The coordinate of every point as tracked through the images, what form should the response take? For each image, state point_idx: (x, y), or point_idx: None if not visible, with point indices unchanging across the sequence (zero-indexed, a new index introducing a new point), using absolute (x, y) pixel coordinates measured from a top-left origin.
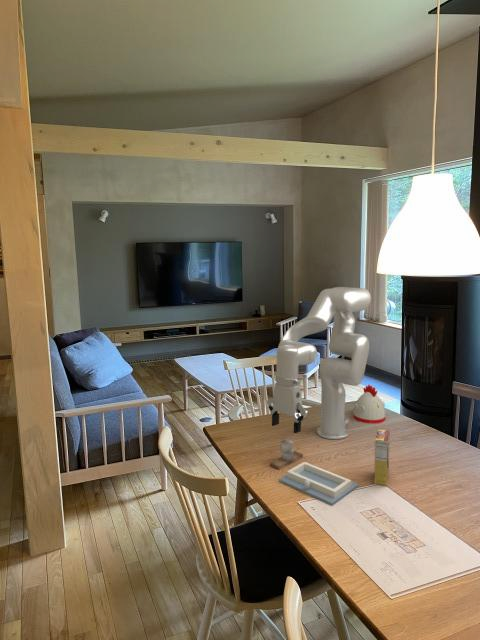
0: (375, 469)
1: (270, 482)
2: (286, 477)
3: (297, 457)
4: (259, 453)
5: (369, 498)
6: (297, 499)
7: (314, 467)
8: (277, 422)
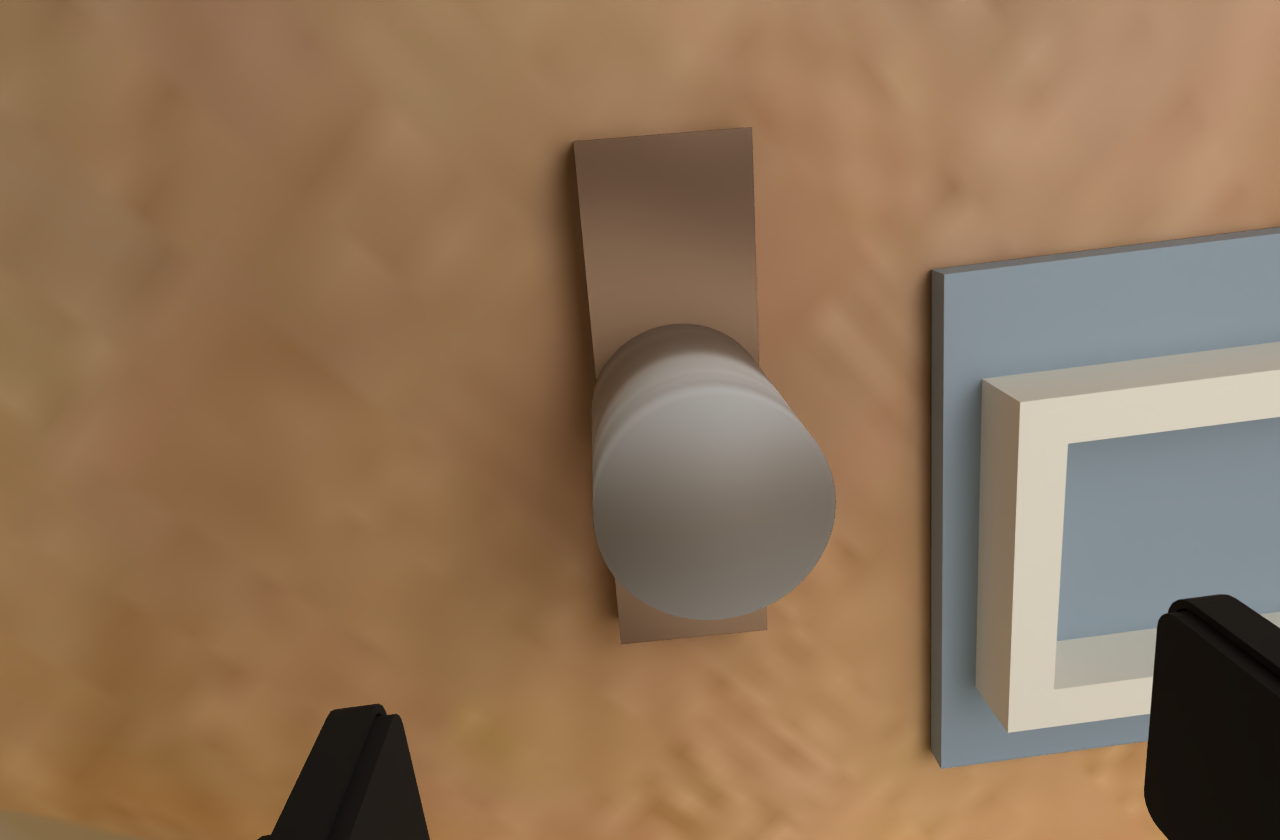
0: None
1: (880, 817)
2: (977, 695)
3: (755, 264)
4: (252, 514)
5: None
6: None
7: (1223, 415)
8: (397, 808)
